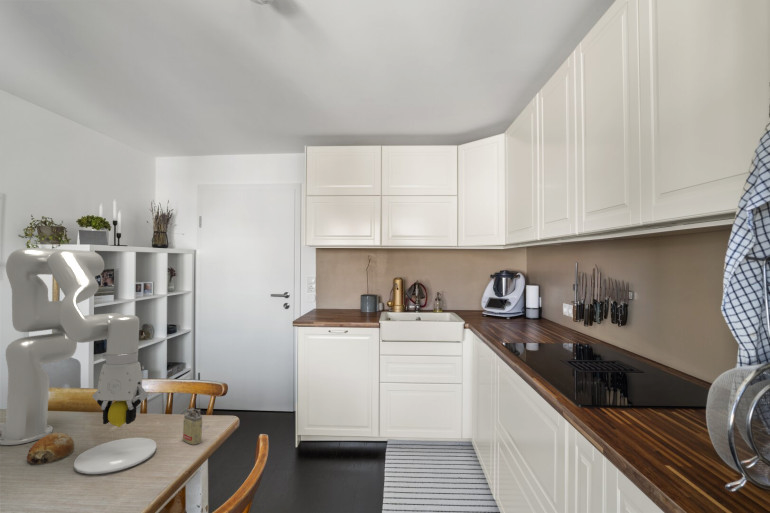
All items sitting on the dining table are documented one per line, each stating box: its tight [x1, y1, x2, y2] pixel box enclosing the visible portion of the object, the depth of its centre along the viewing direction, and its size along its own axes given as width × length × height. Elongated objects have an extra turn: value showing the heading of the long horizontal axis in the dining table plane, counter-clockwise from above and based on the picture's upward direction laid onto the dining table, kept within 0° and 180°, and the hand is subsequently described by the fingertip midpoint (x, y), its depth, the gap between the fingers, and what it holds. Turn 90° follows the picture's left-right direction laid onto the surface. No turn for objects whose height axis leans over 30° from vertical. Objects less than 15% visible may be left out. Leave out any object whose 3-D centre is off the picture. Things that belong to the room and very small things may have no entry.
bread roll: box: [26, 432, 75, 465], centre depth 106 cm, size 10×10×8 cm
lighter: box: [182, 407, 203, 445], centre depth 117 cm, size 7×4×10 cm, turn 59°
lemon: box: [108, 401, 129, 428], centre depth 106 cm, size 6×6×8 cm
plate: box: [73, 437, 157, 475], centre depth 106 cm, size 19×19×2 cm
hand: (119, 421), depth 106 cm, fingers closed on lemon, 5 cm apart
